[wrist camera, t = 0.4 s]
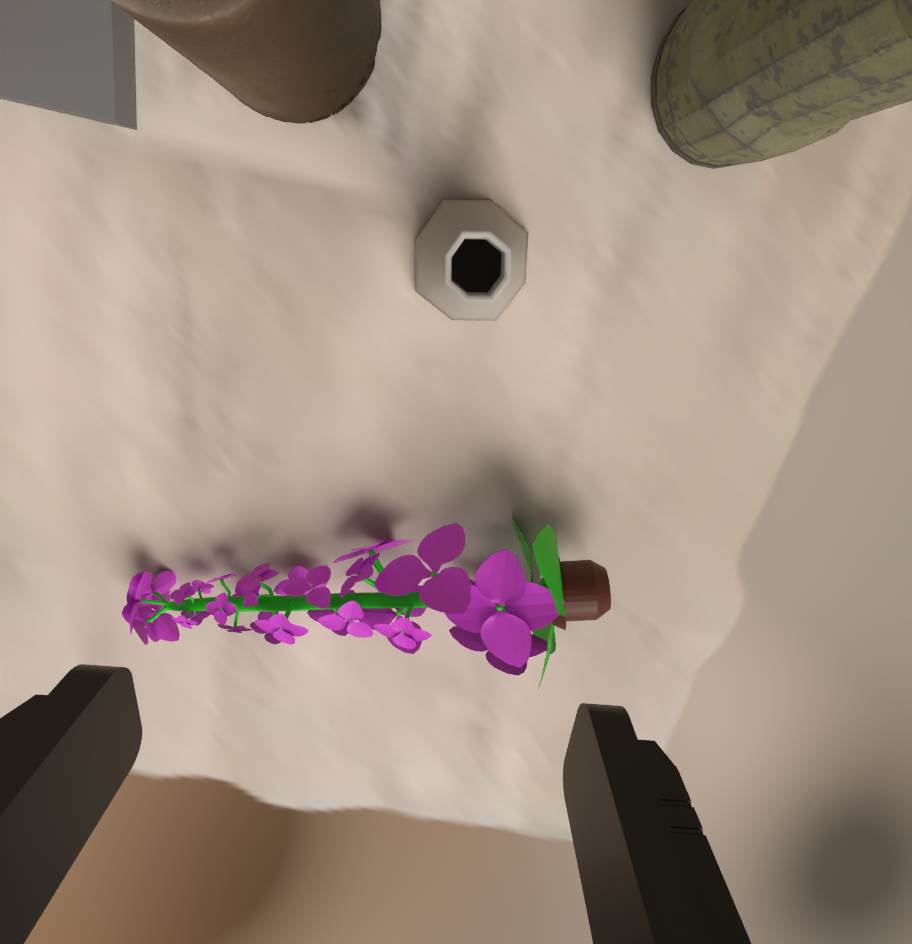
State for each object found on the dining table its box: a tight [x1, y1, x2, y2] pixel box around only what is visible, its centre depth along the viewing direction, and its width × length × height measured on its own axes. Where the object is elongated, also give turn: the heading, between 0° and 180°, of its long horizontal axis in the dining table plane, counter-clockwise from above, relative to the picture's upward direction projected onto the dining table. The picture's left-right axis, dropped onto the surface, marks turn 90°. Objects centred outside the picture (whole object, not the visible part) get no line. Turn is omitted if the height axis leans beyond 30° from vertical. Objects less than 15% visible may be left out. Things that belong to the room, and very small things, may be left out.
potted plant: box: [122, 520, 611, 689], centre depth 38 cm, size 12×16×35 cm
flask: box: [415, 200, 528, 320], centre depth 28 cm, size 7×7×10 cm
